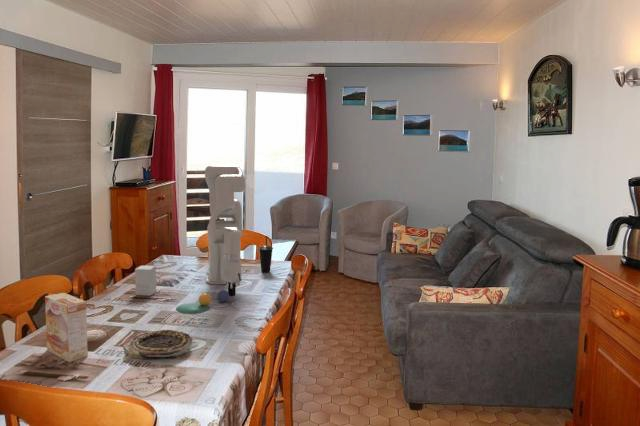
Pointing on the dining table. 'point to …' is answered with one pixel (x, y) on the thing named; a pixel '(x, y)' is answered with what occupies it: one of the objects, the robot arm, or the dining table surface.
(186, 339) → the woven basket
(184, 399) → the dining table surface
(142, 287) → the supplement box
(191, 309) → the green mark
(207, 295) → the orange ball
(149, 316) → the dining table surface
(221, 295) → the dark blue ball
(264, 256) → the drinking cup
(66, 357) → the coffeecake box
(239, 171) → the robot arm
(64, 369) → the dining table surface
